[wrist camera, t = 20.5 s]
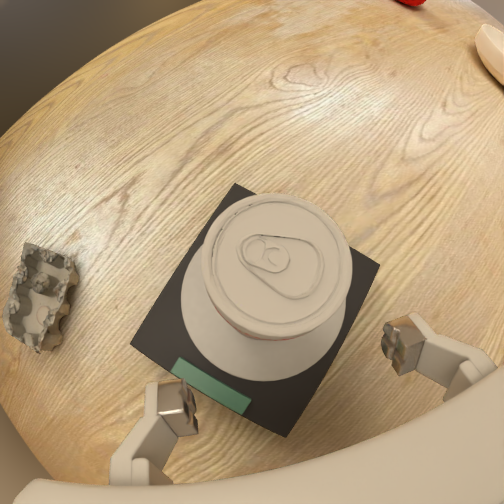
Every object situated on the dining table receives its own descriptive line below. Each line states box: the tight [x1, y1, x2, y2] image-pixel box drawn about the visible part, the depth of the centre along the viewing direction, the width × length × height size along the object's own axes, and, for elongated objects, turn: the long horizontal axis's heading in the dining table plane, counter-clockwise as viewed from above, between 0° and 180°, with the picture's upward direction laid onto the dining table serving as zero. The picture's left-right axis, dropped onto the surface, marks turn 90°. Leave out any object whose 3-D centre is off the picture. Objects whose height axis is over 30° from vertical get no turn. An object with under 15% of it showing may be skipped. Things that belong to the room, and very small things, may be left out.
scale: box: [130, 183, 380, 438], centre depth 27 cm, size 18×16×4 cm
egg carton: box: [2, 242, 79, 354], centre depth 26 cm, size 11×8×4 cm
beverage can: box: [201, 193, 352, 341], centre depth 18 cm, size 6×6×15 cm
